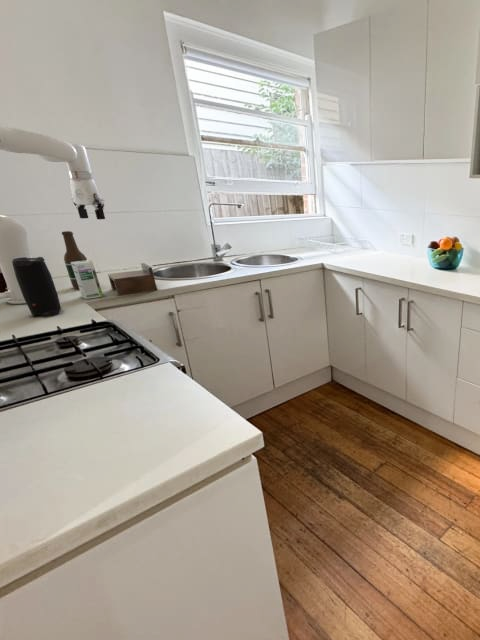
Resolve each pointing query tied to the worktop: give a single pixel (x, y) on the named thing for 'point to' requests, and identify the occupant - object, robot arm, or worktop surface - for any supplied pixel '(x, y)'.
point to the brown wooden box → (133, 281)
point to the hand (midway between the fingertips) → (92, 218)
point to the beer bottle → (72, 256)
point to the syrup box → (87, 279)
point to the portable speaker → (37, 286)
